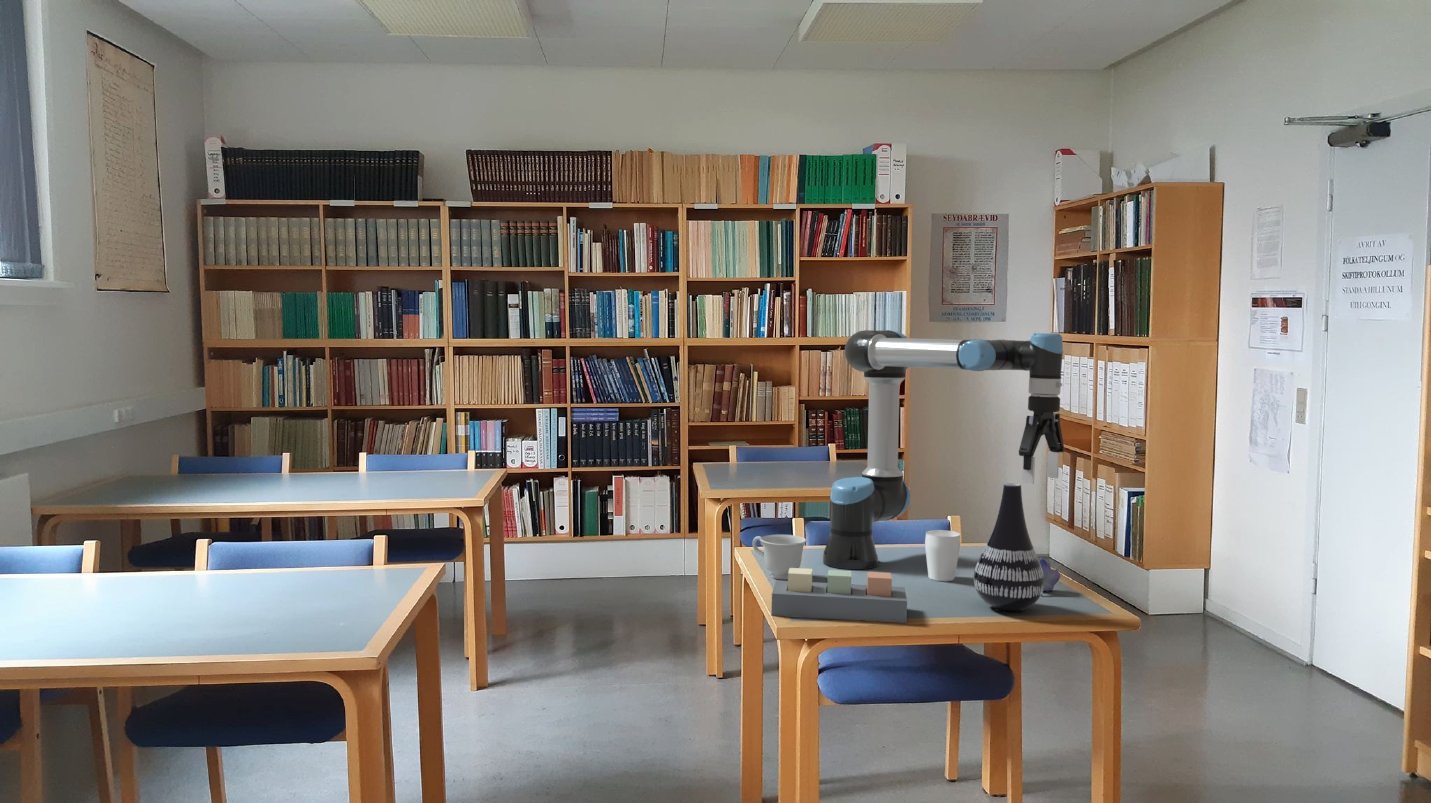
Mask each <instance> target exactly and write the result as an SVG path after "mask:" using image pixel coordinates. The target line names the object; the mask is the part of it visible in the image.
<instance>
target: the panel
mask: <svg viewBox="0 0 1431 803" xmlns="http://www.w3.org/2000/svg"><path fill="white" fill-rule="evenodd" d="M827 587H828V582H817V581H815V582H814V581H812V592H798V591H788V580H781V579H776V580H775V583H774V585H773V589H772V592H771V611H770V612H771V614H770V615H771V616H775V617H776V616H777V617H793V618H794V617H795V618H811V619H812V618H813V619H831V620H843V621H844V620H848V621H860V620H865V621H864V622H877V621H879V622H880V623H883V622H884V623H895V624H896V623H899V624H907V617H908V614H907V612H908V600H907V594H906V589H905V586H892V587H891V597H890V596H871V595H867V584H856V583H855V584H852V583H851V594H835V593H827ZM879 622H878V623H879Z"/></svg>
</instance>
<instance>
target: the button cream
mask: <svg viewBox="0 0 1431 803" xmlns="http://www.w3.org/2000/svg"><path fill="white" fill-rule="evenodd" d="M787 581H788V591H798V592H812V582H813V568H801V567H799V568H789V572H788V579H787Z"/></svg>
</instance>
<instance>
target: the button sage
mask: <svg viewBox="0 0 1431 803" xmlns="http://www.w3.org/2000/svg"><path fill="white" fill-rule="evenodd" d="M827 583H828V587H827V593H835V594H851V584H852V571H851V570H843V569H842V570H841V569H840V570H839V569H828V572H827Z"/></svg>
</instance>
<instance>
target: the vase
mask: <svg viewBox="0 0 1431 803" xmlns="http://www.w3.org/2000/svg"><path fill="white" fill-rule="evenodd" d="M1002 486H1003V489H1002V494H1001V495H1002V496H1001V501H1000V504H999V509H998V513H997V517H996V521H995V524H994V527H993V530H992V532H991V534H990V536H989V539H988V541H987V543H986V544H985V546H984V549H983V550H982V552H981V554H980V556H979V558H978V560H977V563H976V565H975V568H974V571H973V585H974V589H975V591H976V593H977V594H978V596H979V597H980V599H981V600H983V602H985V603H986V604H987V605H989V606H990V607H992V608H993V610H995V611H998V612H1002V613H1010V614H1011V613H1014V614H1015V613H1020V612H1023V610H1026V609H1027V608H1030V607H1032V606H1033V605H1034V604H1035V603H1037V602H1038V601H1039V600H1040V598H1041V597H1042V596H1043V593H1044V574H1043V570H1042V567H1041V564H1040V562H1039V560H1040V559H1039V558H1038V555H1037V553H1036V550H1035V548H1034V545H1033V543H1032V541H1031V537H1030V535H1029V531H1028V527H1027V523H1026V517H1025V512H1024V504H1023V494H1022V485H1021V484H1019V483H1009V482H1008V483H1006V482H1005V483H1004V484H1003V485H1002ZM1038 559H1039V560H1038ZM1041 595H1042V596H1041Z"/></svg>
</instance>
